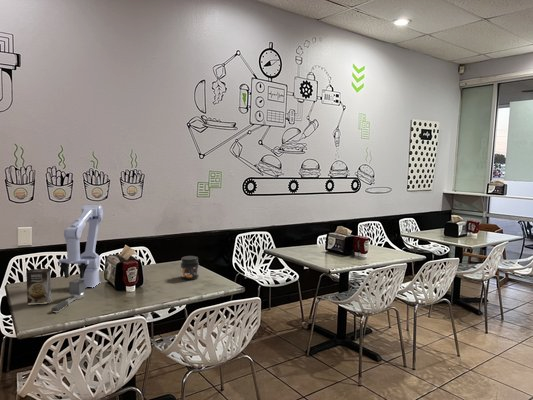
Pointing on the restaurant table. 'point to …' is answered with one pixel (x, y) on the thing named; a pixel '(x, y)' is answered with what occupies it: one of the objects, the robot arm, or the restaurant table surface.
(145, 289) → the restaurant table surface
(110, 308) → the restaurant table surface
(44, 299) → the cookie box
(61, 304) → the ratchet
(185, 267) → the supplement container
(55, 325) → the restaurant table surface
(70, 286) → the brushed metal cube
